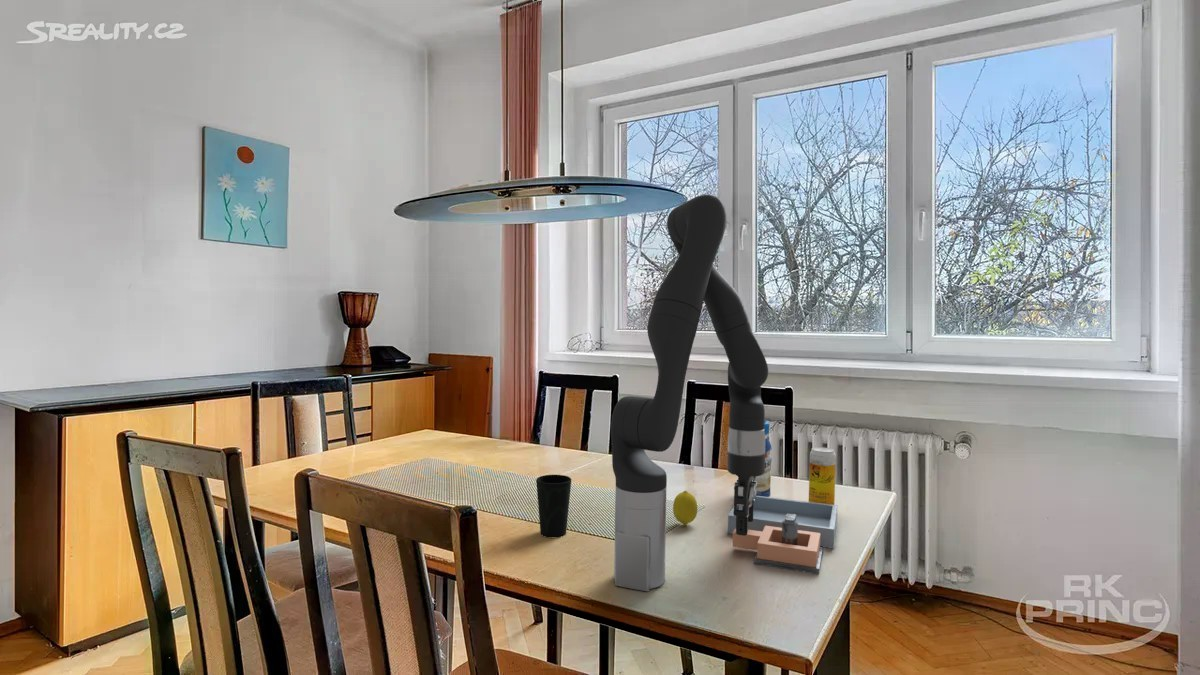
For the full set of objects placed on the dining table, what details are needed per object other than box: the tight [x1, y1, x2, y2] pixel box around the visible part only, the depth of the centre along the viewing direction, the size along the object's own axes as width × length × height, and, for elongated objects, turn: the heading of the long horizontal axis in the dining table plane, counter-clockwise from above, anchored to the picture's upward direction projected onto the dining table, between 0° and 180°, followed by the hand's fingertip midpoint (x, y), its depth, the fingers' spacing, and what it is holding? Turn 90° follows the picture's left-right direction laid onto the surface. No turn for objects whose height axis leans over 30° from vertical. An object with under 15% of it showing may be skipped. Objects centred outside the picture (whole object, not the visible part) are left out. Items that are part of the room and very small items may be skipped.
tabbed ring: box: [732, 526, 820, 567], centre depth 128 cm, size 11×16×3 cm, turn 68°
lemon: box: [672, 490, 698, 526], centre depth 146 cm, size 6×6×8 cm
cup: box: [535, 474, 572, 538], centre depth 139 cm, size 8×8×12 cm
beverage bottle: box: [756, 420, 773, 497], centre depth 169 cm, size 8×8×20 cm
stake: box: [753, 514, 824, 575], centre depth 127 cm, size 12×12×8 cm
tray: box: [727, 496, 838, 549], centre depth 145 cm, size 18×22×4 cm
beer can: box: [808, 446, 837, 505], centre depth 159 cm, size 6×6×15 cm
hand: (744, 527), depth 131 cm, fingers open, 8 cm apart
